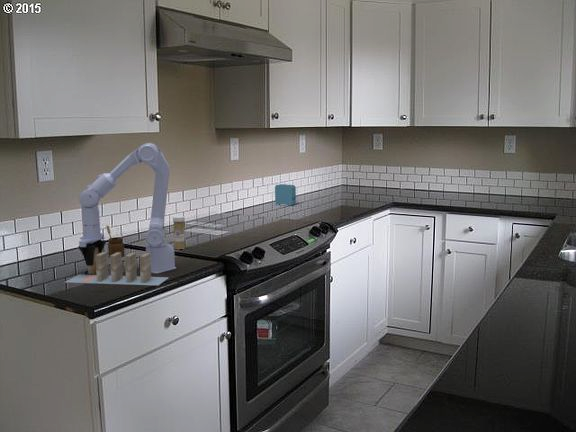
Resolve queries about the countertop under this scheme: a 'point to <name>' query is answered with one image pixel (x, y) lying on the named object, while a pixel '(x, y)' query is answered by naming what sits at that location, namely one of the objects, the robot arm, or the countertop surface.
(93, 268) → the domino
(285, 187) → the data package
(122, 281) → the mat
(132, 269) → the domino
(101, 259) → the domino
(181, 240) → the sprinkles bottle
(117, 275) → the domino
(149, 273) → the domino
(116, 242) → the utensil holder
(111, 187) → the robot arm
